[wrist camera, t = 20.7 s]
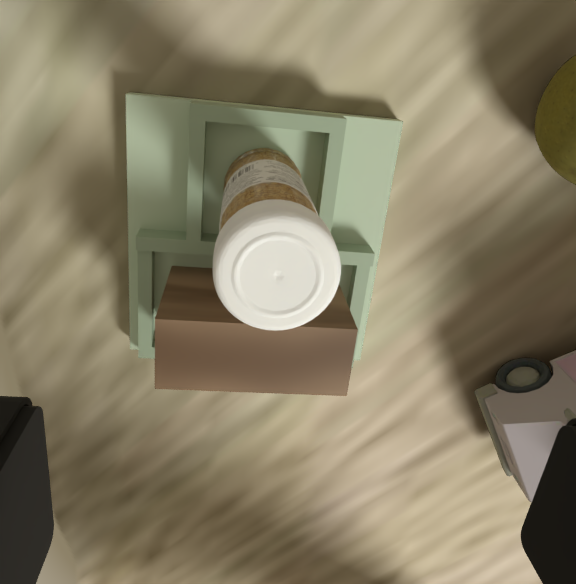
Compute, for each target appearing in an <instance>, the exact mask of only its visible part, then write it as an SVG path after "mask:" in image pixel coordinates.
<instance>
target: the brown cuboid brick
mask: <svg viewBox="0 0 576 584" xmlns="http://www.w3.org/2000/svg"><path fill="white" fill-rule="evenodd" d="M357 332H358V328H357V326H356V324H355V321H354V319H353V316H352V314H351V311H350V309H349V307H348V304H347V302H346V299H345V297H344V294H343V292H342V290H341V287H340V285H338V288H337V291H336V293H335V295H334V297H333V299H332V301H331V302H330V303H329V305H328V306H327V307H326V308H325V310H324V311H322V312H321V313H320V314H319V315H318V316H317V317H315V318H314V319H312V320H311V321H309V322H307V323H305V324H303V325H301V326H298V327H295V328H292V329H287V330H264V329H259V328H256V327H252V326H250V325H248V324H246V323H244V322H242V321H240V320H239V319H237V318H236V317H235V316H233V315H232V314H231V313H230V312H229V311H228V310H227V309H226V307H225V306H224V305H223V303H222V302H221V300H220V299H219V297H218V295H217V292H216V289H215V286H214V281H213V268H200V267H184V266H172V267H171V270H170V273H169V276H168V279H167V283H166V286H165V289H164V292H163V295H162V298H161V301H160V304H159V308H158V311H157V314H156V317H155V389H177V390H203V391H230V392H256V393H283V394H309V395H336V396H347V391H348V385H349V379H350V373H351V367H352V361H353V356H354V350H355V344H356V338H357Z"/></svg>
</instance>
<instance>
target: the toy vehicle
mask: <svg viewBox="0 0 576 584" xmlns="http://www.w3.org/2000/svg"><path fill="white" fill-rule="evenodd" d="M550 365H551V370H552V373H551V371H550V369H549V367H548V366H547V365H546V364H545V363H543V362H541V361H539V360H537V359H533V358H519V359H515V360H512V361H510V362H508V363H506V364H504V365H503V366H502V367H501V368H500V369H499V370H498V373H497V375H496V385H495V384H493V385H492V384H491V383H490V384H488V385H486V386H483V387H481V388H478V389H476V390H475V395H476V398H477V400H478V403H479V406H480V408H481V411H482V414H483V417H484V419H485V422H486V425H487V427H488V430H489V433H490V435H491V438H492V441H493V443H494V446H495V449H496V451H497V454H498V457H499V459H500V462H501V465H502V467H503V470H504V471H505V473H506V475H507V476H512V475H513V477H514V478H515V480H516V481H517V483H518V485H519V486H520V488H521V489H522V491H523V492H524V494H525V496H526V497H527V499H528V500H529V501H530V502H532V500H533V497H534V495H535V492H536V489H537V487H538V484H539V482H540V479H541V476H542V474H543V471H544V468H545V466H546V463H547V460H548V458H549V455H550V452H551V450H552V447H553V444H554V442H555V439H556V436H557V434H558V431H559V430H560V428H561V427H562V426H566V424H567V423H568V422H569V421H570V420H571V419H574V418H576V350H575V351H573V352H570V353H568V354H565V355H563V356H561V357H558V358H556V359H553V360H551V361H550ZM552 374H553V375H552Z"/></svg>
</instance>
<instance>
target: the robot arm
mask: <svg viewBox="0 0 576 584" xmlns="http://www.w3.org/2000/svg"><path fill="white" fill-rule="evenodd" d="M53 529H54V521H53V511H52V500H51V490H50V480H49V469H48V459H47V449H46V439H45V428H44V418H43V411H42V408H41V407H39V406H32V402H31V400H30V398H28V397H8V396H0V584H36V582H37V579H38V576H39V574H40V571H41V568H42V566H43V563H44V561H45V558H46V555H47V553H48V550H49V547H50V544H51V541H52V536H53ZM521 541H522V545H523V548H524V551H525V553H526V554H527V556H528V558H529V560H530V561H531V563H532V565H533V567H534V569H535V570H536V572H537V574H538V576H539V577H540V579H541V581H542V583H543V584H576V418H574V419H571V420H570V421H569V422H568V423H567V424H566V426H562V427H561V428H560V430H559V431H558V434H557V436H556V439H555V442H554V444H553V447H552V450H551V452H550V455H549V458H548V460H547V463H546V466H545V468H544V471H543V474H542V476H541V479H540V482H539V484H538V487H537V489H536V492H535V495H534V497H533V500H532V503H531V505H530V508H529V511H528V513H527V516H526V519H525V521H524V524H523V527H522V530H521Z"/></svg>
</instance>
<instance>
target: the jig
mask: <svg viewBox="0 0 576 584" xmlns="http://www.w3.org/2000/svg"><path fill="white" fill-rule="evenodd" d="M402 125H403V121H401V120H399V119H392V118H382V117H372V116H362V115H352V114H342V113H333V112H323V111H313V110H303V109H293V108H283V107H273V106H263V105H253V104H243V103H233V102H223V101H213V100H203V99H193V98H183V97H174V96H164V95H154V94H144V93H134V92H129V93H126V146H127V203H128V261H129V318H130V349H136V350H138V351H139V358H151V359H155V317H156V314H157V311H158V308H159V304H160V301H161V298H162V295H163V292H164V289H165V286H166V283H167V279H168V276H169V273H170V270H171V267H172V266H184V267H200V268H213V254H214V247H215V243H216V240H217V237H218V235H219V223H220V215H221V207H222V199H223V193H224V189H223V188H224V180H225V176H226V173H227V171H228V169H229V167H230V165H231V164H232V163H233V162H234V161H235V160H236V159H237V158H238V157H239V156H240V155H242V154H244V153H245V152H247V151H250V150H252V149H258V148H269V149H273V150H278V151H280V152H282V153H283V154H285V155H287V156H288V157H289V158H290V159H291V160H292V161H293V162H294V163H295V165H296V167H297V168H298V169H299V171H300V174H301V178H302V181H303V183H304V185H305V187H306V189H307V191H308V194H309V196H310V198H311V200H312V202H313V204H314V206H315V209H316V211H317V213H318V216H319V217H320V218H321V219H322V220H323V221H324V223H325V224H326V226H327V227H328V229H329V231H330V233H331V235H332V237H333V239H334V241H335V244H336V246H337V249H338V252H339V256H340V262H341V276H340V281H339V285H340V287H341V290H342V292H343V294H344V297H345V299H346V302H347V304H348V307H349V309H350V311H351V314H352V316H353V319H354V321H355V324H356V326H357V328H358V332H357V338H356V344H355V350H354V356H353V361H352V367H351V368H353V362H354V360H360V357H361V352H362V346H363V341H364V335H365V330H366V324H367V319H368V313H369V308H370V302H371V296H372V291H373V285H374V280H375V274H376V269H377V263H378V258H379V252H380V247H381V241H382V236H383V230H384V225H385V219H386V214H387V208H388V203H389V197H390V192H391V186H392V181H393V175H394V170H395V164H396V159H397V153H398V147H399V142H400V136H401V131H402Z"/></svg>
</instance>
